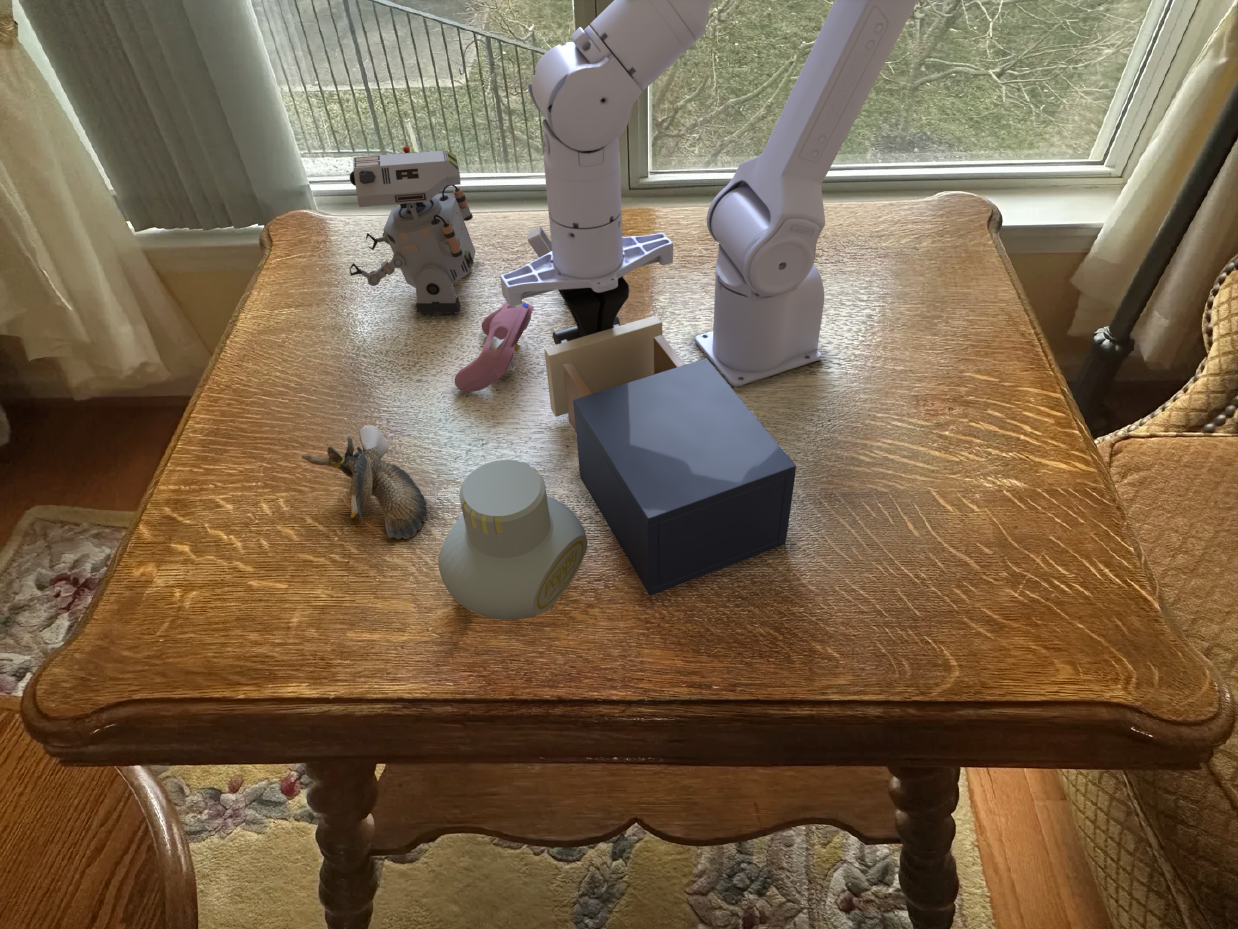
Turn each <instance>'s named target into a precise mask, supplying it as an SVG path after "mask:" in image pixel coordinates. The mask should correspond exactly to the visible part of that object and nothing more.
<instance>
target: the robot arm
mask: <svg viewBox="0 0 1238 929" xmlns="http://www.w3.org/2000/svg"><path fill="white" fill-rule="evenodd" d="M715 1H716V0H613V1H612V2H611V3H610V4H609V5H608V6H606V8H605V9H604V10H603V11H602V12H600V13H599V15H597V17H596V18H594V19H593V20H592V22H590V23H589V25H587V26H586V28H584V29H583V28H582V27H581V26H579V27H578V28H577V29H576V30H575V31H574V32H573V33H571V35H570V40H571V41H568V42H565V44H564V45H561V43H559V44H557V45H555V46H553V47H551V48H550V49H549V50H547V51H546V52H545V53H544V54H543V55H542V56H541V57H540V58H539V60H538V61H537V63H536V65H535V67H534V69H533V70H534V71H535V72H534V74H532V75H531V76H532V77H531V82H529V83H528V84H527V90H528V94H529V97H530V100H531V102H532V103H533V105H534V106H535V107H536V110H538V111H539V112H540V114H542V116H543V117H544V119H543V120H542V122H541V124H542V135H543V138H542V143H543V148H544V153H543V167H544V177H545V178H544V180H545V189H546V201H547V211H548V221H549V232H550V241H551V245H552V251H551V252H549V253H548V254H546V255H544V256H542V257H540V258H539V257H537V258H535V259H534V260H532V261H531V262H529V263H526V264H524V265H523V266H521V267H518V268H517V269H515V270H512V271H509V272H506V273H503V274H500V275H499V280H500V287H501V293H502V296H503V298H504V300H505V302H507V303H508V304H509V306H510V307H514V306H517V305H520V304H522V301H523V300H524V299H528V298H532V297H535V296H539V295H543V294H547V293H550V292H553V291H558V293H559V294H560V296H561V297H562V299H563V302H564V301H565V302H566V303H565V304H566V306H567V308H568V310H569V312H570V313H571V314H570V315H572V318H573V320H574V322H575V325H577V328H578V331H579V334H580V337H584V336H587V335H591V334H594V333H598V332H601V331H604V330H608V329H611V328H612V325H613V322H614V320H615V318H616V316H618V314H619V312H620V310H621V309H622V307H623V306H624V304H625V303H626V302H627V300H628V299H629V297H630V285H629V283H628V282H627V281H626V280H625V278H624V276H626V275H627V274H629V273H631V272H633V271H634V270H637V269H638V268H642V267H645V266H649V265H652V264H655V263H658V264H659V265H661V266H666V265H669V264H670V265H671V264H672V263H674V242H672V240H671V239H670V238H669V237H668V236H667V235H666V234H665V233H664V232H663V231H662V232H658V233H657V232H656V233H653V234H652V233H651V234H645V235H631V236H623V209H622V175H621V174H622V172H621V153H620V150H619V149H620V146H619V145H620V144H619V143H620V142H619V141H620V140H619V138H620V137H621V136H622V135H623V134H624V132H625V131H626V129H627V127H628V125H629V122H630V119H631V115H632V109H633V106H634V104H635V103H636V102H637V101H638V100H639V99H640V95H641V94H642V93H643V91H645V90H646V89H647V88H648V87H650V86H651V85H652V83H654V82H655V81H656V80H657V79H658V78H659V77H660V76H661V75H662V74H663V73H664V72H665V71H667V69H669V68H670V67H671V66H672V65H673V64H674V63H675V62H676V61H677V60H678V59H679V58H680V57H681V56H683V55H684V53H686V52H687V51H688V50H689V49H690V48H691V47H692V46H693V45H694V44H695V43H697V41H698V40H700V38H702V37H703V36H704V35H705V33H706V30H707V25H708V18H709V12H710V8H711V5H712V4H713V3H714V2H715ZM918 1H919V0H834V1H833V4H832V5H831V7H830V9H829V12H828V14H827V16H826V17H825V20H824V22H823V25H822V26H821V28H820V31H819V33H818V35H817V37H816V39H815V41H814V43H813V45H812V48H810V49H811V50H810V51H809V54H808V56H807V58H806V59H805V62H804V64H803V67H802V68H801V71H800V72H799V75H798V77H797V78H796V81H795V83H794V85H793V87H792V89H791V92H790V93H789V96H788V98H787V101H786V102H785V104H784V106H783V108H782V111H781V113H780V114H779V117H778V119H777V120H776V124H775V125H774V127H773V130H772V132H771V134H770V135H769V138H768V140H767V142H766V144H765V146H764V148H763V150H762V153H761V154H760V155H757V156H755V157H753V158H749V159H747V160H745V161H742V162H741V163H740V164H739V165H738V166H737V168H736V170H735V173H734V175H733V177H732V178H731V180H730V181H729V182H728V184H726V185H725V187H723V188H722V189H721V190H720V191H719V192H718V193H717V194H716V196H715V197H714V198H713V199H712V201H711V203H710V204H709V207H708V209H707V213H706V226H707V230H708V232H709V235H710V236H711V237H712V239H713V240H714V241H716V243H718V248H717V249H718V250H717V260H716V264H715V280H714V299H713V300H714V302H713V303H714V304H713V326H712V327H713V328H712V330H711V331H708V332H705V333H701V334H698V335H695V338H694V341H695V343H696V345H697V346H698V347H699V349H701V351H702V352H703V353H704V354H705V355H706V356H707V359H708V360H709V361H710V362H711V363H712V365H713V366H714V367H715V368H716V369H717V371H718V372H719V373H720V374H721V375H722V377H723V378H724V379H725V380H726V381H727V383H728V384H729V385H730V386H731V387H740V386H744V385H746V384H750V383H753V382H756V381H759V380H762V379H766V378H768V377H771V376H774V375H778V374H781V373H785V372H787V371H791V370H792V369H796V368H799V367H801V366H802V367H803V366H805V365H808V364H811V363H814V362H818V361H820V360H821V359H822V353H821V351H820V350H819V349H818V348H819V341H820V340H819V339H820V333H821V326H822V319H823V312H824V305H825V288H824V282H823V279H822V276H821V274H820V272H819V268H817V266H816V264H815V262H816V255H817V254H816V253H817V245H818V240H819V238H820V235H821V234H822V231H823V229H824V227H825V226H826V215H825V207H824V199H823V198H824V197H823V193H822V184H823V183H824V181H825V179H826V178H827V175H828V173H829V171H830V169H831V167H832V165H833V163H834V161H835V160H836V158H837V156H838V154H839V152H840V150H841V148H842V147H843V145H844V142H845V140H846V139H847V136H849V133H850V131H851V129H852V127H853V125H854V123H855V122H856V120H857V118H858V116H859V114H860V112H861V110H862V108H863V106H864V104H865V102H866V101H867V99H868V96H869V95H870V93H871V91H872V89H873V87H874V85H875V84H876V82H877V79H878V78H879V76H880V74H881V72H882V70H883V68H884V66H885V65H886V62H887V60H888V58H890V57H889V56H890V55H891V53H892V51H893V49H894V47H895V46H896V43H897V41H898V39H899V38H900V35H901V34H902V32H903V30H904V28H905V27H906V24H907V22H908V21H909V19H910V16H911V14H912V13H913V11H914V9H915V8H916V5H917V3H918Z"/></svg>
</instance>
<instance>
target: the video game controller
mask: <svg viewBox="0 0 1238 929" xmlns="http://www.w3.org/2000/svg"><path fill="white" fill-rule="evenodd" d="M534 309H535V306H534V305H532V304H529V303H527V302H525V301H523V300H522V304H520V305H517V306H514V307H510V306H509V304H508V303H507V301H505V303H504V304H503V305H502V306H501V307H500V308H498V309H496V310H495V311H493V312H491V313H489V314H488V315H487V316H486V317H485V318H484V319H483V321H482V322H481V330H482V332H483V333H484V334H485V336H486V339H485V341H484V345H483V346H482V350H481V352H480V354H479V355H478V356H477V357H476V358H475V359H474V360H473V361H472V362H470V363H469V364H467V365H466V366H464V367H463V368H461V369H459V370H458V372H457V373H456V374H455V376H454V386H455V387H456V388H457V389H458V390H459V391H461V392H466V393H474V392H478V391H482V390H484V389H486V388H488V387H490V386H491V385H493V384H494V383H495V382H497V381H498V380H501V379H502V377H503V375H504V374H505V373H507V371H508V370H510V372H513V371H515V370H516V368H517V366H518V364H519V361H518V358H516V359H515V357H514V356H515V353H517V352H519V350H520V344H518V342H519V340H520V338H521V337H522V335H523V333H524V332H525V331H526V330H527V329H528V326H529V325H530V322H531V320H532V313H533V312H534V311H533V310H534Z"/></svg>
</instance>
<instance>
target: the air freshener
mask: <svg viewBox="0 0 1238 929" xmlns="http://www.w3.org/2000/svg"><path fill="white" fill-rule="evenodd" d="M458 496H459V502H460V508H461V511H462V514H461V515H460V517H459V518H458V519H457V520H456V522H455V523H454V524H453V526H452V527H451V529H450V530H449V532H448V534H447V535H446V537H445V538H444V541H443V543H442V544H441V548H440V550H439V554H438V559H437V563H438V571H439V575H440V578H441V581H442V583H443V585H444V587H445V588H446V590H447V592H448V593H449V595H450V596H451V597H452V598H453V599H454V600H455V601H456V602H457V603H458V604H460V606H462V607H464V608H465V609H466V610H468V611H470V612H471V613H474V614H476V615H478V616H481V617H484V618H488V619H491V620H497V621H498V620H500V621H519V620H525V619H529V618H533V617H537V616H539V615H542V614H544V613H546V612H547V611H549V609H551V608H552V607H553V606H554V605H555V604H556V603H557V601H559V599H560V598H561V597H563V596H562V595H563V594H564V593H565V592H566V590H567V589H568V588H569V586H570V584H571V583H572V581H573V580H574V578H575V577H576V575H577V573H578V571H579V570H580V567H581V565H582V563H583V561H584V559H585V556H586V553H587V549H588V537H587V533H586V530H585V528H584V525H583V524H582V522H581V520H580V519H579V517H577V515H576V514H575V512H574V511H572V510H571V509H570V507H568V506H567V505H566V504H564V503H563V502H561V501H560V500H558V499H557V498H555V497H553V496H550V495H548V493H547V489H546V483H545V479H544V477H543V475H542V474H541V473H540V471H539V470H537V469H536V468H535V467H533V466H531V465H530V464H529V463H526V462H524V461H518V460H515V459H499V460H494V461H490V462H486V463H485V464H482V465H480V466H479V467H477V468H475V469H474V470H472V471H471V472H470V473H469V474H468V475H467V476H466V478H464V480H463V481H462V484H461V486H460V489H459V495H458Z"/></svg>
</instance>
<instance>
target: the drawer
mask: <svg viewBox="0 0 1238 929" xmlns="http://www.w3.org/2000/svg"><path fill="white" fill-rule="evenodd" d="M552 340H553V342H554V345H551V346H548V347H544V348H543V351H544V352H543V353H544V359H545V368H546V378H547V387H548V393H549V402H550V410H551V411H552V413H553V415H554V417H556V418H557V417H560V416H563V415H564V416H565V415H566V414H567V419H568V420H567V421H568V423H569V424H570V426H571V428H572V429H573V431H574V432H575V434H576V428H575V417H574V406H573V400H575V399H578V398H581V397H584V396H587V395H591V394H594V393H597V392H600V391H603V390H606V389H610V388H613V387H616V386H619V385H622V384H626V383H629V382H632V381H635V380H638V379H641V378H645V377H648V376H651V375H654V374H657V373H661V372H664V371H667V370H670V369H673V368H676V367H680V366H683V365H686V363H685V362H684V361H683V359H682V358H681V357H680V356H679V355H678V353H677V351H675V349H673V347H672V346H671V345H670V342H668V340H667V339H666V338H665V337H664V336H663V321H662V319H660V317H659V316H658V315H657V314H655V315H652V316H649V317H645V318H642V319H639V320H635V321H631V322H627V323H625V324H622V325H621V321H620V318H619V316H618V315H617V316H616V318H615V320H614V322H613V325H612V328H611V329H608V330H604V331H601V332H598V333H594V334H591V335H587V336H584V337H580V334H579V331H578V328H577V325H576V324H575V325H572V326H569V327H566V328H561V329H558V330H555V331H553V332H552Z"/></svg>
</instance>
